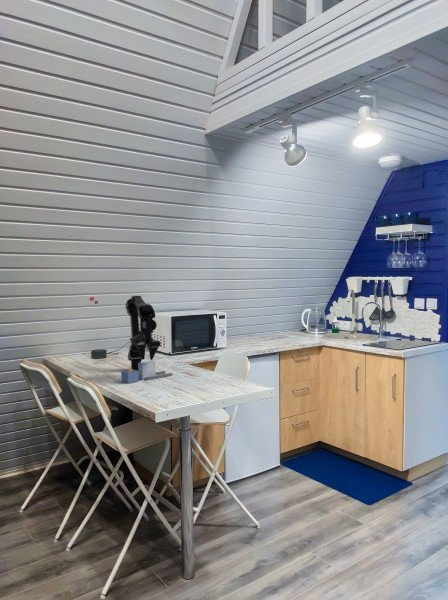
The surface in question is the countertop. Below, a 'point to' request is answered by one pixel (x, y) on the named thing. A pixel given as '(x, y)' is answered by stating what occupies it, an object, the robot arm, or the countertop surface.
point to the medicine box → (146, 369)
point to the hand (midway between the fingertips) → (146, 358)
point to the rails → (159, 375)
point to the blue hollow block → (130, 376)
